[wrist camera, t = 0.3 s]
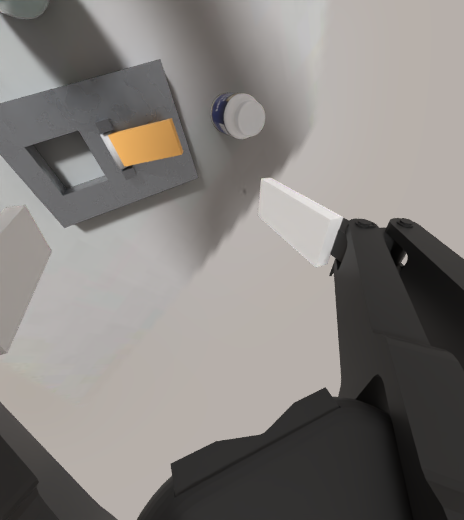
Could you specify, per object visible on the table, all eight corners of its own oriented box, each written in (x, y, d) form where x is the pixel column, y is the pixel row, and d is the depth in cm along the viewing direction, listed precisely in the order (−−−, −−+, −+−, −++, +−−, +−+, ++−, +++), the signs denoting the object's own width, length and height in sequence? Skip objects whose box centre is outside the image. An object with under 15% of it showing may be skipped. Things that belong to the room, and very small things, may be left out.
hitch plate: (-23, 111, 26) (-45, 114, 22) (157, 61, 29) (162, 57, 26) (67, 219, 36) (62, 233, 32) (193, 172, 39) (201, 181, 36)
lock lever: (103, 132, 29) (98, 135, 28) (171, 115, 27) (168, 118, 26) (121, 166, 32) (117, 170, 31) (184, 153, 30) (181, 156, 29)
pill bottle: (223, 83, 33) (252, 81, 26) (246, 110, 37) (278, 115, 29) (203, 116, 35) (225, 122, 28) (227, 139, 38) (252, 151, 31)
